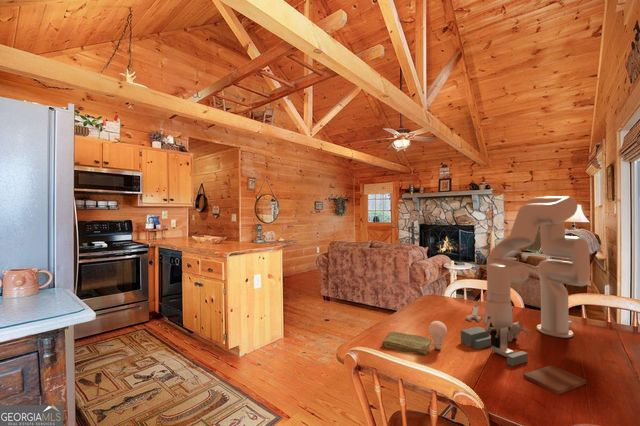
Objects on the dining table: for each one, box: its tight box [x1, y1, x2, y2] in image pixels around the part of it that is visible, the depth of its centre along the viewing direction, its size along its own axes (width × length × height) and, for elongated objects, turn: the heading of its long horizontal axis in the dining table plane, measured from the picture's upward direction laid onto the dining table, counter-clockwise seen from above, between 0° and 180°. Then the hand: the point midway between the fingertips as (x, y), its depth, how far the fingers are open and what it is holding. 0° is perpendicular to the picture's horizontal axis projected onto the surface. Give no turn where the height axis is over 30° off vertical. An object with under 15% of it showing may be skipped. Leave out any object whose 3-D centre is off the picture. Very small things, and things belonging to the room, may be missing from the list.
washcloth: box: [381, 331, 432, 356], centre depth 121 cm, size 13×18×3 cm
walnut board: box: [523, 364, 588, 395], centre depth 95 cm, size 14×10×1 cm
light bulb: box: [428, 320, 448, 350], centre depth 117 cm, size 7×7×11 cm
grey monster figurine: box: [508, 321, 531, 343], centre depth 125 cm, size 9×12×8 cm
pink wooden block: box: [491, 327, 515, 358], centre depth 112 cm, size 4×6×10 cm, turn 22°
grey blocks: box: [460, 325, 529, 367], centre depth 115 cm, size 10×21×5 cm, turn 22°
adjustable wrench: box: [466, 304, 483, 323], centre depth 155 cm, size 25×6×2 cm, turn 145°
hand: (499, 345), depth 113 cm, fingers closed on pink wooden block, 3 cm apart
